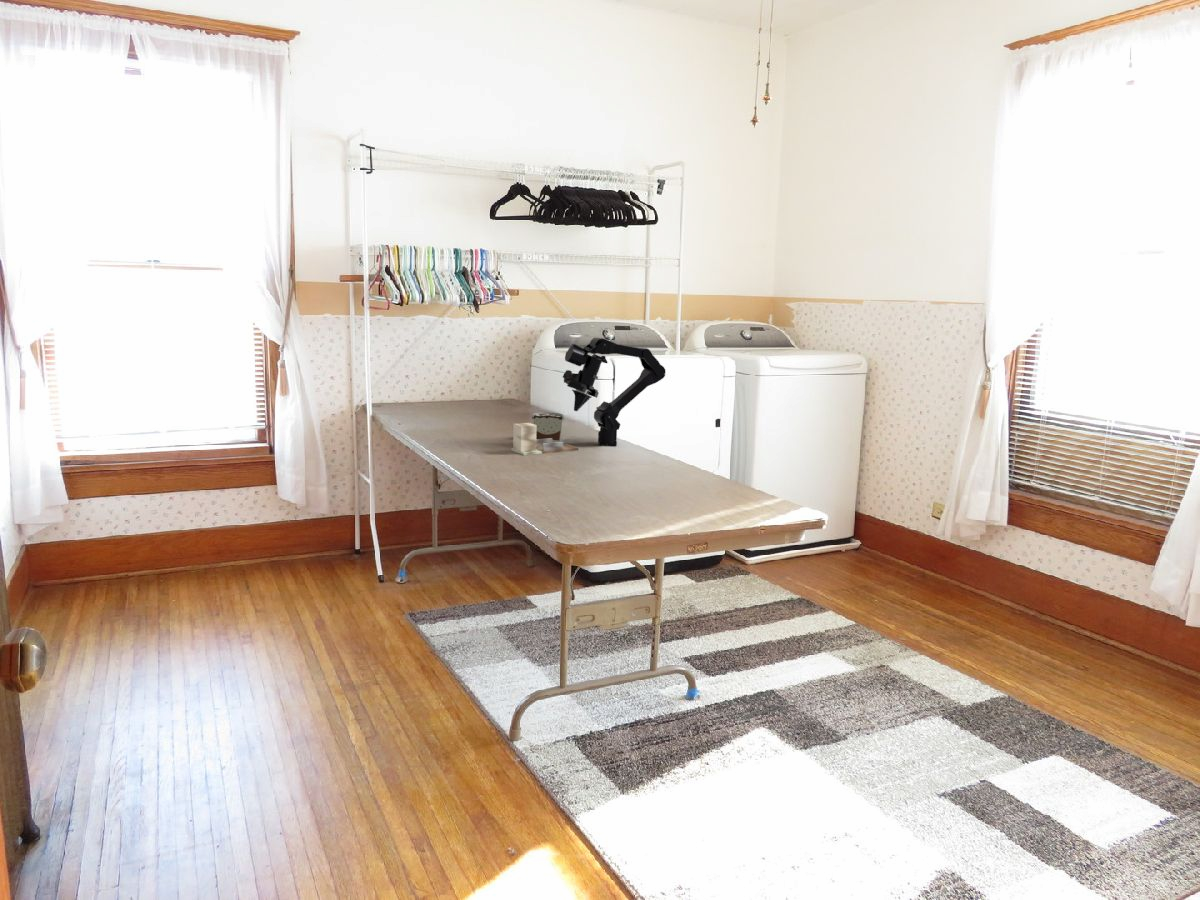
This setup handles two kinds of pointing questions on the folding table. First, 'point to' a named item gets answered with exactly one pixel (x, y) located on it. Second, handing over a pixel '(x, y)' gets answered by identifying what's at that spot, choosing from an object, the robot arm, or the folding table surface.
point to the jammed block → (524, 437)
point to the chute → (548, 447)
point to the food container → (548, 425)
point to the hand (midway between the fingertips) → (575, 410)
